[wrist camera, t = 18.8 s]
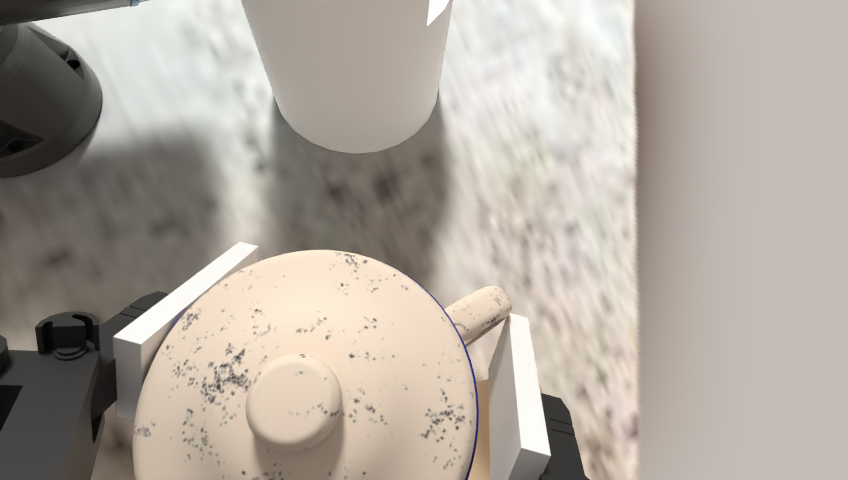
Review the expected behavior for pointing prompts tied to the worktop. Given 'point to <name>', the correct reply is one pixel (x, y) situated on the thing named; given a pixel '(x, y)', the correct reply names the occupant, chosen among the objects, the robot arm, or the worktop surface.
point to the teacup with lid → (315, 377)
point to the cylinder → (352, 66)
